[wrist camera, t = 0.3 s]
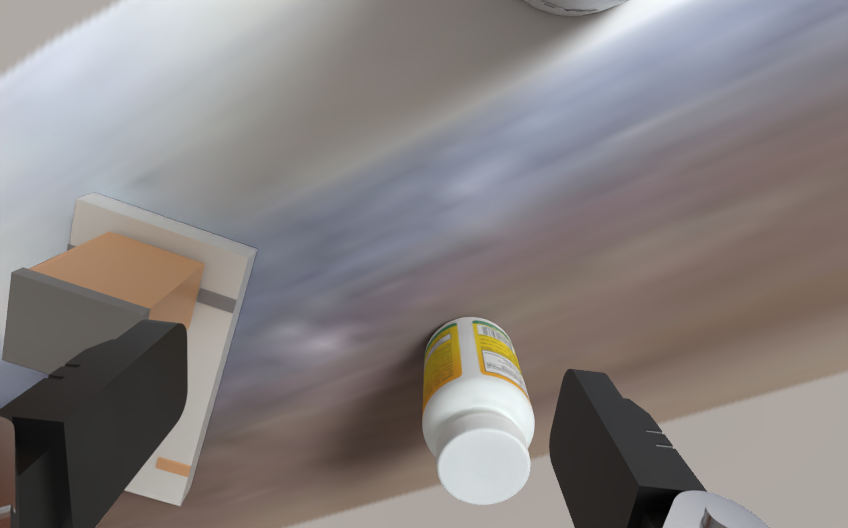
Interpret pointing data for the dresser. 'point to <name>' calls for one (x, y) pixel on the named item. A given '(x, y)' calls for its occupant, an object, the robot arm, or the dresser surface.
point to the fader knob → (94, 298)
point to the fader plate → (205, 336)
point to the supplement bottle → (476, 411)
